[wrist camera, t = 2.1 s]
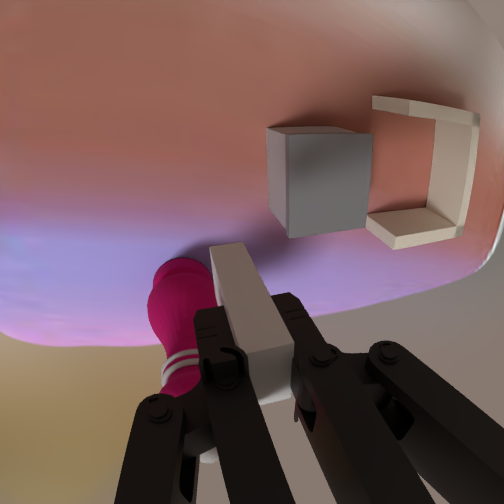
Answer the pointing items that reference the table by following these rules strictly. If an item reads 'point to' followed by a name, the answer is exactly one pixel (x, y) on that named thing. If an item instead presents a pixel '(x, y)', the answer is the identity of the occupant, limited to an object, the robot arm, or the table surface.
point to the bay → (434, 177)
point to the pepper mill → (180, 324)
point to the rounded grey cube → (318, 178)
